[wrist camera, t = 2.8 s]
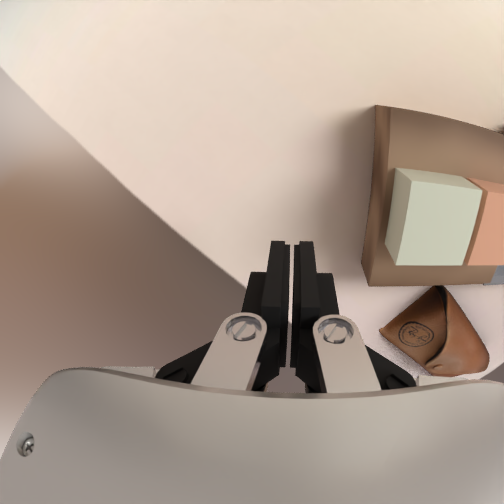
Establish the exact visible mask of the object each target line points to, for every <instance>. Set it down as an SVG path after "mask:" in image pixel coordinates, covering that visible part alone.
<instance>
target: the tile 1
mask: <svg viewBox="0 0 504 504" xmlns="http://www.w3.org/2000/svg"><path fill="white" fill-rule="evenodd" d="M467 180H468V181H470V182H471V183H472V184H474V185H475V186H477V187H478V188H480V189H481V190H483V191H482V196H481V200H480V205H479V209H478V213H477V217H476V221H475V225H474V229H473V232H472V236H471V239H470V242H469V246H468V249H467V252H466V255H465V258H464V262H465V263H466V264H467V265H504V185H503V184H498V183H494V182H489V181H484V180H479V179H473V178H468V177H467Z"/></svg>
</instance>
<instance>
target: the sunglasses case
mask: <svg viewBox="0 0 504 504" xmlns="http://www.w3.org/2000/svg"><path fill="white" fill-rule="evenodd" d="M379 332H380V333H381V334H382V335H383V336H384V337H385V338H386V339H387V340H388V341H390V342H391V343H392V344H394V345H395V346H396V347H397V348H399V349H400V350H401V351H403V352H404V353H405V354H407V355H408V356H409V357H411V358H412V359H413V360H415V361H416V362H417V363H418V364H420V365H421V366H422V367H423V368H424V369H425V370H427V371H428V372H429V373H430V374H431V375H432V376H438V377H455V376H458V375H462V374H472V373H478V372H482V371H485V370H486V369H487V367H488V364H489V353H488V351H487V349H486V347H485V345H484V344H483V342H482V340H481V339H480V337H479V335H478V334H477V332H476V331H475V329H474V328H473V326H472V324H471V323H470V321H469V320H468V318H467V317H466V315H465V314H464V312H463V311H462V309H461V307H460V306H459V305H458V303H457V302H456V300H455V299H454V297H453V296H452V295H451V293H450V292H449V291H448V290H447V289H446V288H445V287H444V286H443V285H434V286H433V287H432V288H431V289H429V290H428V291H427V292H426V293H425V294H423V295H422V296H421V297H420V298H419V299H418V300H416V301H415V302H414V303H413V304H412V305H410V306H409V307H408V308H407V309H406V310H404V311H403V312H402V313H400V314H399V315H398V316H397V317H395V318H394V319H393V320H392V321H391V322H389V323H388V324H387V325H386V326H385V327H384V328H381V329H379Z"/></svg>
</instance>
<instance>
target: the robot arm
mask: <svg viewBox="0 0 504 504" xmlns="http://www.w3.org/2000/svg"><path fill="white" fill-rule="evenodd" d="M289 275H290V245H285V241H271V246H270V253H269V260H268V266H267V272H251V274H250V277H249V282H248V286H247V290H246V294H245V298H244V303H243V307H242V311H241V313H238V314H234V315H232V316H230V317H228V318H227V319H225V321H224V322H223V323H222V325H221V327H220V329H219V331H218V333H217V334H216V336H215V338H214V340H213V341H211V342H209V343H208V344H206V345H204V346H202V347H200V348H198V349H196V350H194V351H192V352H190V353H188V354H186V355H184V356H182V357H180V358H178V359H177V360H174V361H172V362H170V363H168V364H166V365H165V366H163V367H162V368H161V369H160V370H155V368H154V367H102V368H93V367H79V368H69V369H63V370H60V371H57V372H55V373H53V374H52V375H51V376H49V377H48V378H47V379H46V380H45V381H44V382H43V383H42V385H41V386H40V387H39V388H38V390H37V391H36V393H35V394H34V395H33V397H32V398H31V400H30V401H29V403H28V405H27V406H26V408H25V410H24V412H23V413H22V415H21V417H20V419H19V421H18V422H17V424H16V426H15V428H14V430H13V433H12V434H11V437H10V439H9V441H8V443H7V445H6V448H5V450H4V452H3V455H2V457H1V459H0V504H504V384H503V383H500V382H495V381H489V380H475V379H474V380H468V379H466V378H456V377H438V376H424V375H419V376H418V377H417V378H413V377H412V375H410V374H409V373H408V372H407V371H405V370H404V369H402V368H401V367H399V366H397V365H396V364H394V363H393V362H391V361H389V360H388V359H386V358H385V357H383V356H382V355H380V354H379V353H377V352H375V351H374V350H372V349H371V348H369V347H368V346H366V345H364V342H363V340H362V337H361V335H360V332H359V330H358V327H357V326H356V324H355V323H354V322H353V321H352V320H351V319H349V318H347V317H345V316H341V315H339V309H338V303H337V297H336V291H335V286H334V280H333V275H332V273H317V271H316V262H315V254H314V246H313V242H312V241H300V242H299V245H294V275H293V304H292V336H291V360H290V367H292V368H296V376H297V377H299V378H300V379H301V380H302V381H303V382H305V393H273V392H267V389H268V383H269V381H270V380H272V379H273V378H275V377H276V376H278V375H279V369H280V367H285V364H286V349H287V328H288V309H289Z"/></svg>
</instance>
